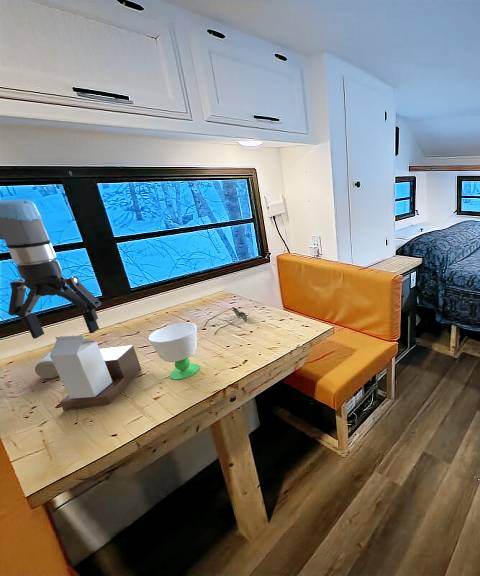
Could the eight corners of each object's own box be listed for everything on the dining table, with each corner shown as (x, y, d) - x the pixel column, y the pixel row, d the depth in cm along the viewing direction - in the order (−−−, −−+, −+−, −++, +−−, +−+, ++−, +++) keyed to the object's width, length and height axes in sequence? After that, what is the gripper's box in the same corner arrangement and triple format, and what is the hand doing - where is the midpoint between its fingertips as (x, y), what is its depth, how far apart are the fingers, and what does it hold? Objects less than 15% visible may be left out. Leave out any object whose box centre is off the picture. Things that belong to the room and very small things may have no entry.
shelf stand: (63, 410, 90) (49, 382, 86) (103, 374, 106) (93, 349, 103) (109, 404, 92) (98, 376, 88) (141, 369, 108) (133, 345, 105)
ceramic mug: (37, 382, 103) (28, 362, 100) (52, 369, 110) (43, 350, 107) (77, 375, 106) (69, 356, 104) (88, 362, 113) (81, 344, 111)
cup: (167, 365, 110) (154, 326, 105) (209, 357, 115) (199, 319, 109) (156, 388, 98) (141, 345, 93) (204, 378, 103) (193, 336, 97)
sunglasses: (249, 323, 141) (246, 314, 139) (216, 338, 131) (212, 328, 129) (235, 315, 150) (232, 306, 148) (203, 328, 140) (200, 318, 138)
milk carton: (95, 397, 90) (71, 341, 84) (69, 399, 90) (43, 343, 83) (113, 382, 97) (92, 329, 90) (89, 384, 96) (66, 330, 90)
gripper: (101, 255, 85) (124, 323, 92) (-7, 260, 80) (26, 332, 88) (81, 262, 78) (108, 335, 85) (-38, 268, 74) (1, 345, 81)
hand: (67, 333), depth 87 cm, fingers open, 13 cm apart
